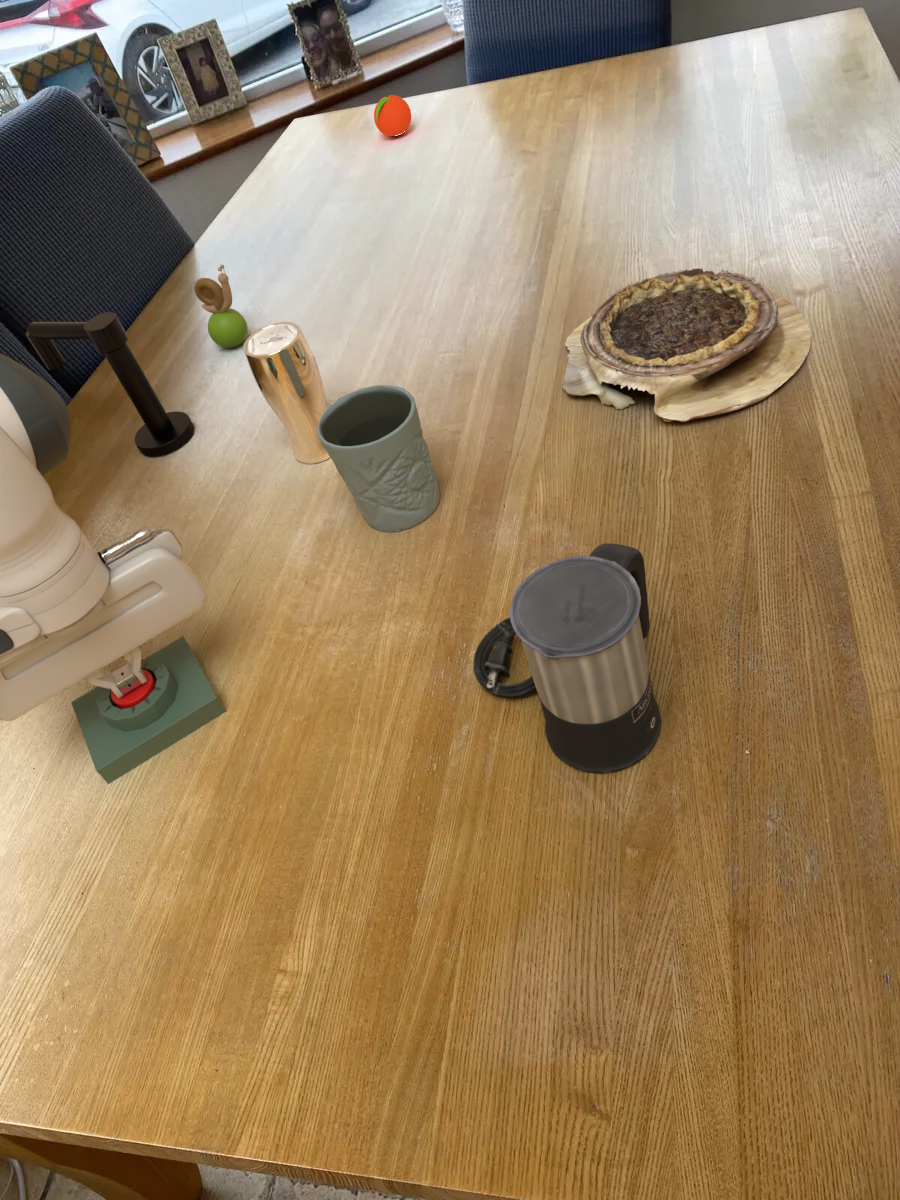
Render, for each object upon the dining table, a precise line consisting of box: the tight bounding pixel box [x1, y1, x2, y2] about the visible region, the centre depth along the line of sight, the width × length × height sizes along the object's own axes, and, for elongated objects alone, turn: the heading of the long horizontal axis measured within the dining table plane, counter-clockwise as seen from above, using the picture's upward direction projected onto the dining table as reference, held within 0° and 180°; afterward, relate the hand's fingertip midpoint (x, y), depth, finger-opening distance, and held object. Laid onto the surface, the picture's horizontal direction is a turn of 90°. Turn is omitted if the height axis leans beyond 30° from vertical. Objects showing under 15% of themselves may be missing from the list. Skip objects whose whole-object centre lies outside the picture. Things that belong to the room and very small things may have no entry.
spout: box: [25, 311, 129, 371], centre depth 115 cm, size 15×4×6 cm, turn 66°
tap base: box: [103, 341, 196, 458], centre depth 117 cm, size 8×8×14 cm
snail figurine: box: [193, 263, 248, 349], centre depth 131 cm, size 5×6×12 cm
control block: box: [70, 635, 227, 785], centre depth 87 cm, size 12×10×4 cm
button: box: [111, 670, 156, 709], centre depth 86 cm, size 4×4×2 cm
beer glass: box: [242, 321, 331, 465], centre depth 107 cm, size 7×7×15 cm
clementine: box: [373, 94, 412, 137], centre depth 173 cm, size 8×7×7 cm
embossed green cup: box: [317, 384, 441, 533], centre depth 96 cm, size 10×10×12 cm
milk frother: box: [473, 542, 662, 774], centre depth 72 cm, size 14×16×15 cm
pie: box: [561, 267, 812, 423], centre depth 105 cm, size 28×27×5 cm
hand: (131, 685), depth 86 cm, fingers closed, pressing on button
